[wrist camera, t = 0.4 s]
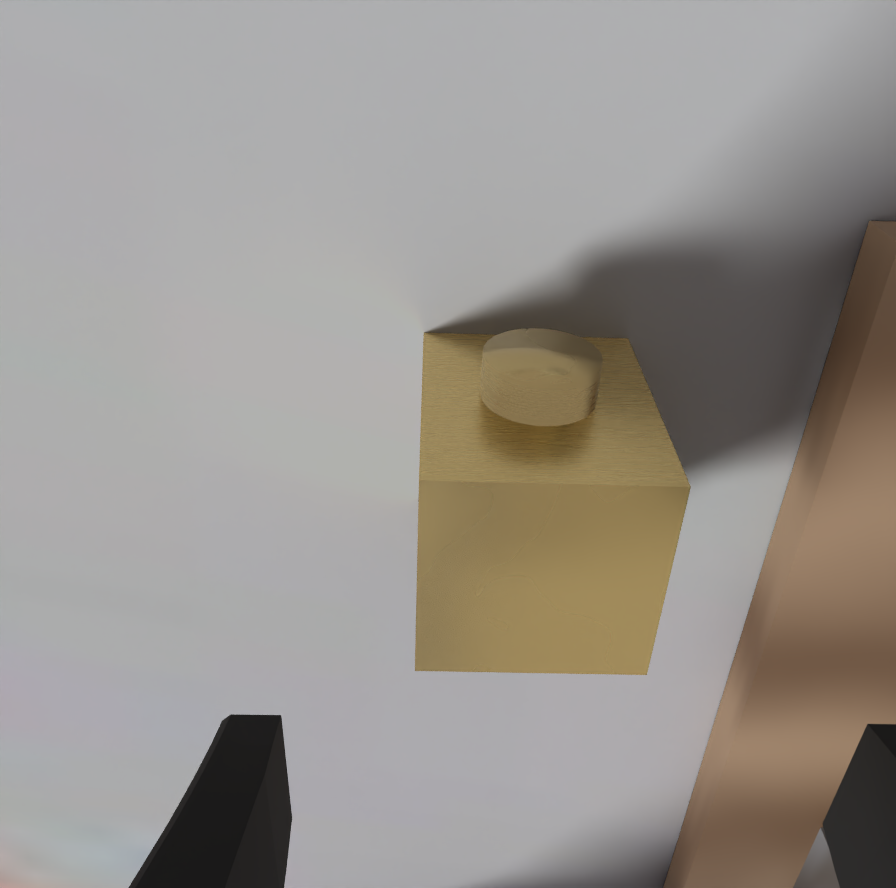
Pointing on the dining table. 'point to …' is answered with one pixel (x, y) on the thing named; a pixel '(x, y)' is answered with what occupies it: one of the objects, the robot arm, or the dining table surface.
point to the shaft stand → (811, 622)
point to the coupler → (542, 505)
